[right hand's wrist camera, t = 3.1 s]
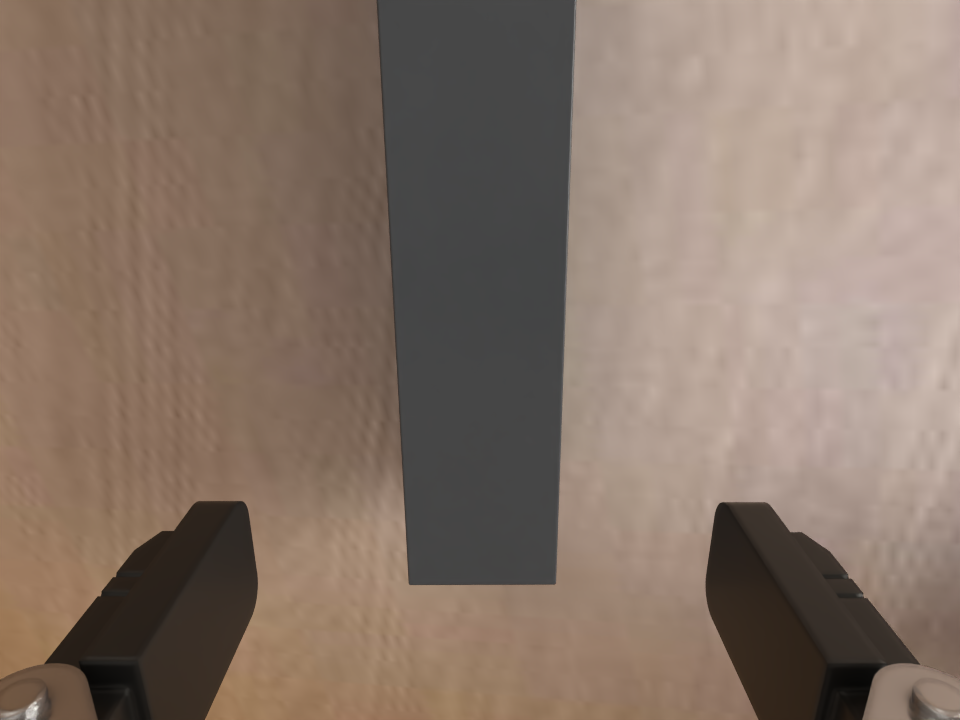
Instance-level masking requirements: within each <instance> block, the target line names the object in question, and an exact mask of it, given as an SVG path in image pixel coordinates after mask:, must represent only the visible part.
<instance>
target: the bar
mask: <svg viewBox="0 0 960 720" xmlns="http://www.w3.org/2000/svg"><path fill="white" fill-rule="evenodd" d="M377 15H378V33H379V51H380V69H381V88H382V106H383V124H384V142H385V160H386V178H387V197H388V215H389V233H390V251H391V269H392V287H393V305H394V324H395V342H396V360H397V378H398V396H399V414H400V433H401V451H402V469H403V487H404V505H405V523H406V541H407V560H408V578H409V585H535V584H556V567H557V539H558V510H559V482H560V453H561V425H562V396H563V368H564V339H565V311H566V282H567V254H568V225H569V196H570V168H571V139H572V111H573V82H574V54H575V25H576V0H377Z"/></svg>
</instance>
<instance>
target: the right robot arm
mask: <svg viewBox="0 0 960 720" xmlns="http://www.w3.org/2000/svg"><path fill="white" fill-rule="evenodd" d="M257 590H258V577H257V569H256V562H255V555H254V548H253V541H252V534H251V526H250V519H249V513H248V509H247V506H246V504H245V503H244V502H243V501H198V502H196V503H195V504H194V505H193V506H192V507H191V508H190V510H189V511H188V513H187V514H186V515H185V517H184V518H183V519H182V521H181V522H180V523H179V525H178V526H177V527H176V529H175V530H174V531H162V532H160V533H159V534H157V535H156V536H154V537H153V538H152V539H150V540H149V541H147V542H146V543H144V544H143V545H141V546H140V547H138V548H137V549H136V550H134V551H133V553H132V554H131V555H130V556H129V558H128V559H127V560H126V562H125V563H124V564H123V565H122V567H121V568H120V569H119V570H118V572H117V575H116V577H113V578H112V579H111V580H110V582H109V583H108V584H107V585H106V587H105V588H104V589H103V590H102V594H101V596H98V597H97V598H96V599H95V601H94V602H93V603H92V604H91V606H90V607H89V608H88V609H87V611H86V612H85V613H84V614H83V616H82V617H81V618H80V619H79V621H78V622H77V623H76V624H75V626H74V627H73V628H72V630H71V631H70V632H69V633H68V635H67V636H66V637H65V638H64V640H63V641H62V642H61V643H60V645H59V646H58V647H57V648H56V650H55V651H54V652H53V653H52V655H51V656H50V657H49V658H48V660H47V661H46V662H45V664H43V665H37V666H33V667H29V668H26V669H23V670H20V671H17V672H15V673H13V674H11V675H8V676H6V677H4V678H2V679H0V720H205V718H206V716H207V714H208V711H209V709H210V707H211V705H212V703H213V700H214V698H215V696H216V694H217V692H218V690H219V687H220V685H221V683H222V681H223V679H224V676H225V674H226V672H227V670H228V668H229V665H230V663H231V661H232V659H233V657H234V654H235V652H236V650H237V648H238V646H239V643H240V641H241V639H242V637H243V635H244V632H245V630H246V628H247V626H248V624H249V621H250V619H251V617H252V614H253V612H254V608H255V604H256V599H257ZM706 597H707V603H708V608H709V612H710V615H711V617H712V620H713V622H714V624H715V626H716V628H717V630H718V633H719V635H720V637H721V639H722V641H723V643H724V646H725V648H726V650H727V652H728V654H729V657H730V659H731V661H732V663H733V665H734V667H735V670H736V672H737V674H738V676H739V678H740V680H741V683H742V685H743V687H744V689H745V691H746V693H747V696H748V698H749V700H750V702H751V704H752V706H753V709H754V711H755V713H756V715H757V717H758V719H759V720H960V679H958V678H956V677H954V676H952V675H949V674H947V673H945V672H943V671H940V670H937V669H934V668H931V667H927V666H923V665H920V664H919V662H918V661H917V660H916V659H915V657H914V656H913V655H912V654H911V652H910V651H909V650H908V649H907V647H906V646H905V645H904V644H903V642H902V641H901V640H900V639H899V637H898V636H897V635H896V634H895V632H894V631H893V630H892V629H891V627H890V626H889V625H888V624H887V622H886V621H885V620H884V619H883V617H882V616H881V615H880V614H879V612H878V611H877V610H876V609H875V607H874V606H873V605H872V604H871V602H870V601H869V600H868V599H867V598H864V597H863V592H862V591H861V590H860V589H859V587H858V586H857V585H856V584H855V582H854V581H853V580H852V579H849V578H848V574H847V572H846V571H845V570H844V569H843V567H842V566H841V565H840V564H839V563H838V561H837V560H836V559H835V558H834V556H833V555H832V554H831V553H830V552H829V551H828V550H827V549H825V548H824V547H822V546H821V545H819V544H818V543H816V542H815V541H814V540H812V539H811V538H809V537H808V536H806V535H805V534H803V533H802V532H790V531H789V530H788V529H787V527H786V526H785V525H784V523H783V522H782V521H781V519H780V518H779V516H778V515H777V514H776V512H775V511H774V510H773V508H772V507H771V506H770V505H769V504H768V503H765V502H722V503H720V504H719V505H718V506H717V509H716V512H715V517H714V524H713V531H712V538H711V545H710V552H709V559H708V566H707V574H706Z"/></svg>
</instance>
